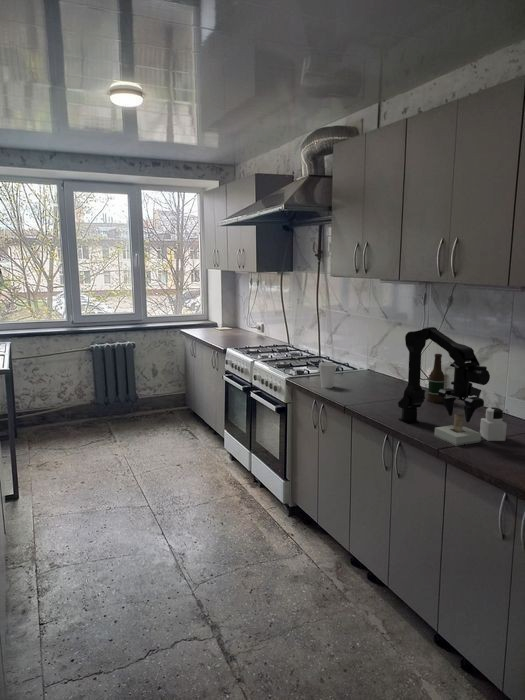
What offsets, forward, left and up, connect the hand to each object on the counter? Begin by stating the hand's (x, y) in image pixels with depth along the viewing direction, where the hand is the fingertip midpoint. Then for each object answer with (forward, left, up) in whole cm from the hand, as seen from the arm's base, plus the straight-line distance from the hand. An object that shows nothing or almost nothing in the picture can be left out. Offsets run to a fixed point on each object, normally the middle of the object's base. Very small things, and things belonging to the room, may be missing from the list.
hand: (458, 418), depth 199 cm
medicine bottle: (+4, +14, -8) cm, 17 cm away
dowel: (0, 0, -8) cm, 8 cm away
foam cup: (-94, -6, -8) cm, 95 cm away
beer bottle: (-48, +30, -8) cm, 57 cm away
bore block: (0, 0, -8) cm, 8 cm away
